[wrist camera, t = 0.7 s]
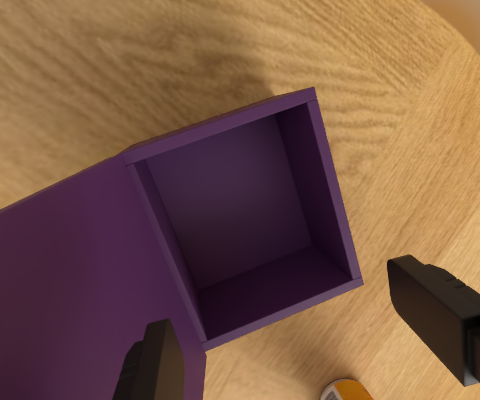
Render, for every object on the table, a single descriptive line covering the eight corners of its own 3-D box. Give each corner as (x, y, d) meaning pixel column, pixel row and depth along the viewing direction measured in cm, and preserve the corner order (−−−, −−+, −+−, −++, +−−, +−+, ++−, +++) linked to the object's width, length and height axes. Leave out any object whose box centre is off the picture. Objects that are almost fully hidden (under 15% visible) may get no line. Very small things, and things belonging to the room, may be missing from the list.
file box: (275, 95, 31) (314, 86, 23) (317, 245, 35) (364, 284, 27) (130, 145, 30) (115, 155, 21) (193, 295, 34) (201, 353, 26)
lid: (-95, 258, 7) (-130, 270, 7) (179, 669, 11) (156, 675, 11) (120, 153, 21) (108, 158, 21) (207, 356, 25) (196, 359, 25)
